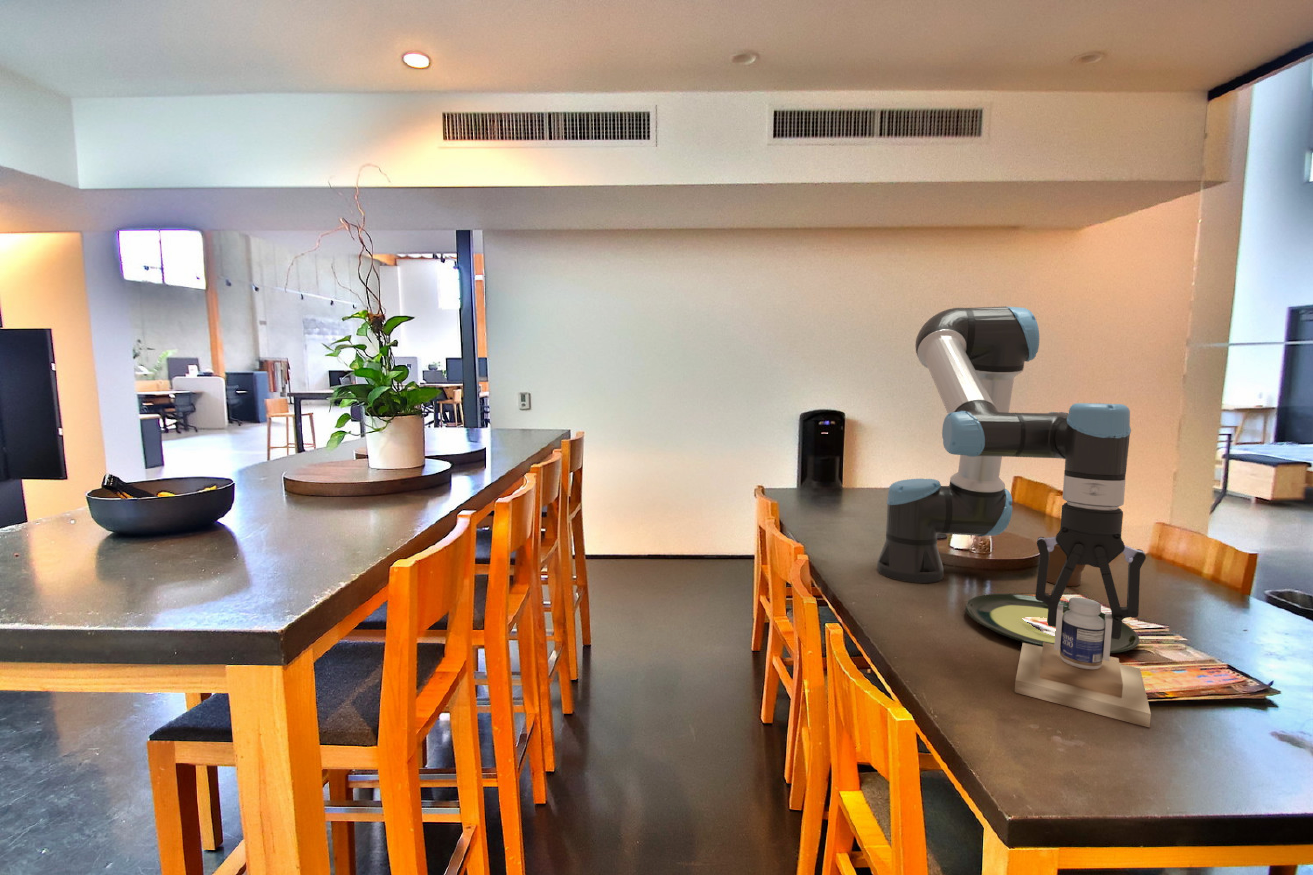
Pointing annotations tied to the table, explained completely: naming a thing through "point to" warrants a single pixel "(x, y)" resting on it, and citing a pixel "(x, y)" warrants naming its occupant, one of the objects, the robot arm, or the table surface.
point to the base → (1083, 696)
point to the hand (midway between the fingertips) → (1081, 651)
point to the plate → (1011, 608)
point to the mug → (1056, 565)
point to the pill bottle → (1082, 634)
